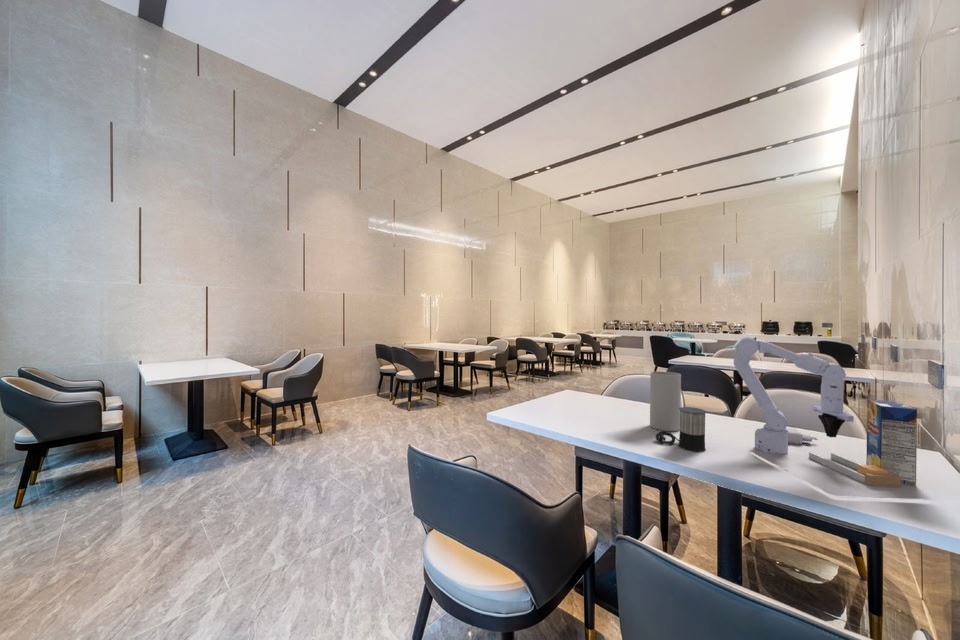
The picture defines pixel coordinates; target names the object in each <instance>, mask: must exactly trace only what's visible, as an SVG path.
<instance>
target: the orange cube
mask: <svg viewBox="0 0 960 640" xmlns="http://www.w3.org/2000/svg"><path fill="white" fill-rule="evenodd" d="M858 473H860V474H862V475H865V474H888V471H887V470H884V469H882V468H879V467H877V466H874V465H866V464H862V465H858Z"/></svg>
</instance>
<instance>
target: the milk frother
mask: <svg viewBox="0 0 960 640" xmlns="http://www.w3.org/2000/svg"><path fill="white" fill-rule="evenodd" d="M679 410H680V430H679V439H678V438H677V437H676V436H675V435H674V434H672V433H671V432H670V431H662V430H660V431H659V432H657V433H656V434H655V439H656V441H657V442H659V443H661V444H663V445H672V444H675V442H676V441H678V447H679V448H681V449H684V450H686V451H692V452H704V451H706V449H707V448H706V413H707V411H706V410H704V409H702V408H698V407H691V406H681V408H679ZM665 436H668V437H670V438H671V440H666V437H665Z"/></svg>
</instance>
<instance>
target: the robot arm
mask: <svg viewBox="0 0 960 640" xmlns="http://www.w3.org/2000/svg"><path fill="white" fill-rule="evenodd" d="M734 350H735V351H734V357H733V365H734V367H735V369H736V370H737V372H738V374H739V375H740V377H741V379H742V380H743V382H744V384H745V385H746V387H747V389H748V390H749V391H750V393H751V395H752V397H753V398H754V400H755V401H756V403H757V405H758V406H759V408H760V410H761V412H762V414H763V416H764V419H765V420H764V421H765V424H763V427H762V428H757V429H756V430H755V431H754V448H756V449H757V450H759V451H762V452H763V453H766V454H767V453H768V454H780V455H783V454H784V455H786V454H788V453H789V452H788V451H789V443H788V429H787V428H788V420H787V418H786V414H785V413H784V412H783V411H782V410H780V409H779V408H778V407H777V406H776V404H775V403H774V401H773V400H772V399H771V397H770V395H769V393H768V392H767V391H766V389H765V387H764V386H763V384H762V382H761V381H760V379H759V378H758V376H757V374H756V373H755V371H754V370H753V368H752V366H751V365H750V362H751V360H752V357H753V356H754V355H755V354H756V353H757V352H758V354H763V353H764V354H765V353H767V354H772V355H775V356H777V357H779V358H782V359H785V360H788V361H791V362H793V363H794V366H795V367H797V368H799V369H802V370H804V371H806V372H809V373H812V374H814V375H817V376H819V375H821V384H820V405H812V406H811V411H812V412H817V413H820V414H818V416H817V418H818V419H819V420H820V422H821V424H822V427H823V428H824V431H825V435H826V437H829V438H837V435H838V434H839V433H838V432H839V431H840V428H841V427H842V426H843V424H844V423H845V422H851V423H853V422H854V418H855V417H854V415H851V414H849V413H847V411H846V410H844V379H845V378H846V376H847V373H846V371H845V369H844V368H843V366H841V365H839V364H837V363H834V362H831V360H829V359H822V358H820V357H817V356H815V355H814V353H811V352H808V353H806V352H801V353H796V352H794V351H791V350H788V349H786V348H783V347H781V346H778V345H776V344H774V343H771V342H768V341H764V340H760V339H755V338H753V337H749V336H748V337H744V338H741V339H740V341H739V342H738V343H737V345H736V346H735V349H734Z"/></svg>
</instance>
